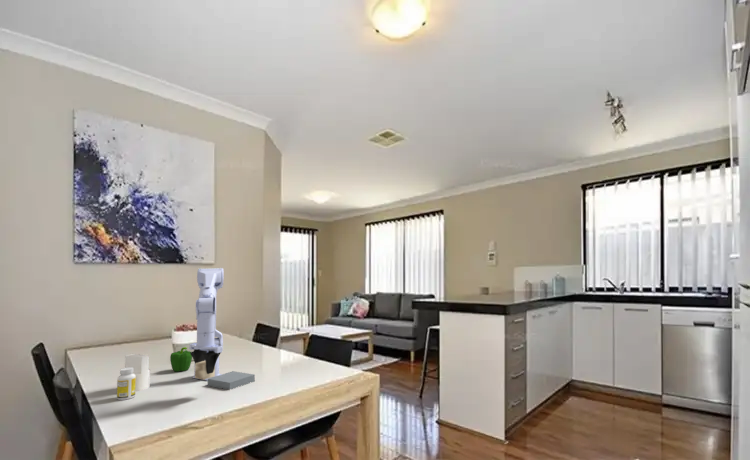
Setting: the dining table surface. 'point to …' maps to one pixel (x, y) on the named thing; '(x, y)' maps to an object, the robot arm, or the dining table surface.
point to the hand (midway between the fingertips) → (205, 372)
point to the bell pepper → (181, 360)
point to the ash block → (202, 371)
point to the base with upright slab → (139, 370)
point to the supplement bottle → (126, 384)
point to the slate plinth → (231, 380)
